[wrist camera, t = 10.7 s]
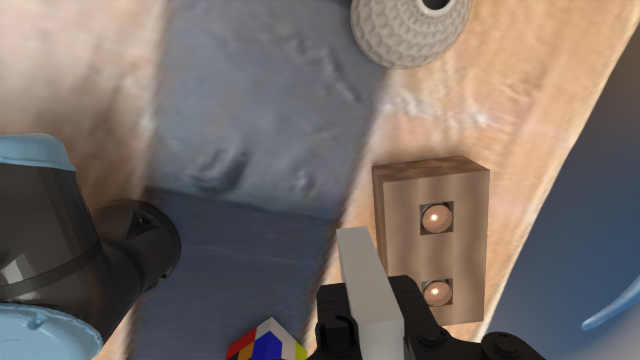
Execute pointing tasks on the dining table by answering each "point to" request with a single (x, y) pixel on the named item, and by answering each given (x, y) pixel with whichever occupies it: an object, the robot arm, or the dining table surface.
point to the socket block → (436, 248)
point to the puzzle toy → (266, 344)
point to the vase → (408, 30)
